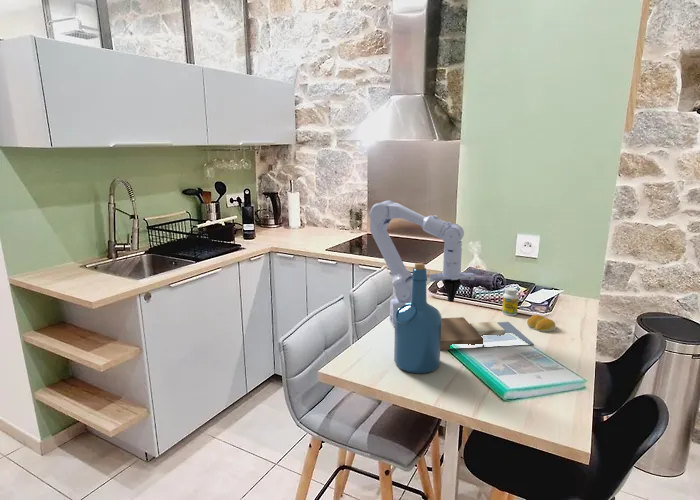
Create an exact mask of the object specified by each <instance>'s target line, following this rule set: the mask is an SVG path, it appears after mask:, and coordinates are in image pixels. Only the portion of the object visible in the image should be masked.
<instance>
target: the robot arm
mask: <svg viewBox="0 0 700 500" xmlns="http://www.w3.org/2000/svg"><path fill="white" fill-rule="evenodd" d="M368 217H369V219H370V220H369V223H370V225H369V228H370V229H369V230H370V233H371V236H372V238H373V240H374V241H375V244H376V246H377V248H378V249H379V251H380V254H381V255H382V258H383V260H384V261H385V264H386V265H387V267H388V270H389V271H390V273H391V275H392V286H393V289H394V295H395V297H396V298H391V299H390V300H389V321H390V323H391V324H392V327H394V328H395V316H396V312H397V310H398V309H399V308H400V307H401V306H403V305H405V304H407V303H410V302H411V293H412V280H411V279H412V272H411V271H409V270H408V269H407V268H406V266H405V264H404V262H403V260H402V258H401V256H400V254H399V251H398V250H397V248H396V245H395V244H394V242H393V240H392V238H391V235H390V234H389V232H388V230H387V229H388V227H389V224H390V222H391V221H392V220H393V219H403V220H405V221H407V222H410V223H413V224H415V225H418V226H420V227H421V228H422V230H423V232H425V233H427V234H429V235H432V236H434V237H437V238H439V239H441V240H442V241H443V242H444V244H443V245H444V246H443V259H442V260H443V261H442V265H443V266H442V272H440V273H432V274H429V281H430V282H431V283H432V282H439V281H442V284H443V286H444V288H445V292H446V296H447V301H448V302H449V303H450V302H451V303H452V302H454V301H455V298H456V294H457V293H458V290H459V288H460V287H461V286H462V281H463V280H465V281H467V280H468V281H469V280H470V281H474V280H475V278H474V277H475V274H474V273H473V272H461V271H462V255H463V254H462V251H463V248H462V243H463V241H462V239H463V237H464V236H465V231H464V228H463V227H462V226H460V225H459V224H458V223H452V222H451V221H445V220H442V219H440V218H439V216H438V215H436V214H434V215H432V214H431V215H428V216H425V215H422V214H420V213H418V212H416V211H414V210H412V209H411V208H408V207H406V206H404V205H402V204H400V203H398V202H394V201H393V200H390V199H388V200H384V201H381V202H376V203H374V204H373V205H372V207H371V208H370V211H369V213H368Z"/></svg>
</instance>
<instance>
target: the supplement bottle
mask: <svg viewBox="0 0 700 500" xmlns="http://www.w3.org/2000/svg"><path fill="white" fill-rule="evenodd" d="M504 292H505V293H503V295H502V306H501V307H502V309H501V310H502V311H501V313H502V314H503V315H506V316H509V317H513V316H516V315H517V314H518V307H519V295H518V294H517V288H516V287H505V290H504Z"/></svg>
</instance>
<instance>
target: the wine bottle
mask: <svg viewBox="0 0 700 500" xmlns="http://www.w3.org/2000/svg"><path fill="white" fill-rule="evenodd" d="M427 273H428V272H427V268H426V265H425V263H423V262H415V263H414V267H412V272H411V274H412V279H411V280H412V293H411V302H410V303H407V304H405V305H403V306H401V307H400V308H399V309H398V310H397V312H396V316H395V327H394V350H393V351H394V354H393V355H394V356H393V357H394V359H393V360H394V363H395V365H396V366H397V367H398V368H399V369H400V370H403V371H405V372H408V373H410V374H411V373H412V374H425V373H426V374H427V373H433V372H434V371H436V370H437V369H438V368H439V366H440V363H441V350H440V344H441V320H442V318H443V317H442V314H441V312H440V311H439V309H437V308H436V307H434V306H433V305H432V304H430V303H428V302H427V300H428V299H427V298H428V297H427V296H428V295H427V294H428V293H427V292H428V291H427V284H428V283H427V281H428V274H427Z"/></svg>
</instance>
